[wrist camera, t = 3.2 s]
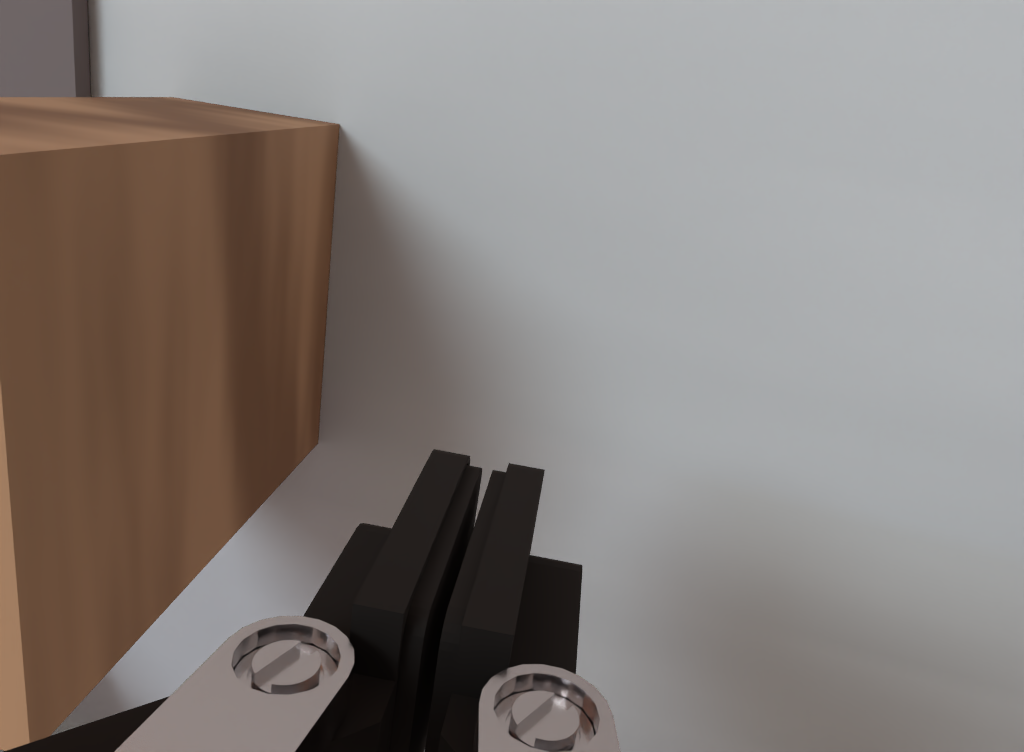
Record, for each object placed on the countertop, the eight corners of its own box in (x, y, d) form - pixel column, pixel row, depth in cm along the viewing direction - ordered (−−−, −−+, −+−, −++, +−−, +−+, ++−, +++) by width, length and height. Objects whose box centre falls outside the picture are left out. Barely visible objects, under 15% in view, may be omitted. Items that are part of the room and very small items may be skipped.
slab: (339, 124, 20) (-19, 156, 9) (318, 442, 24) (30, 757, 12) (167, 96, 21) (-375, 95, 10) (168, 413, 24) (-243, 691, 13)
